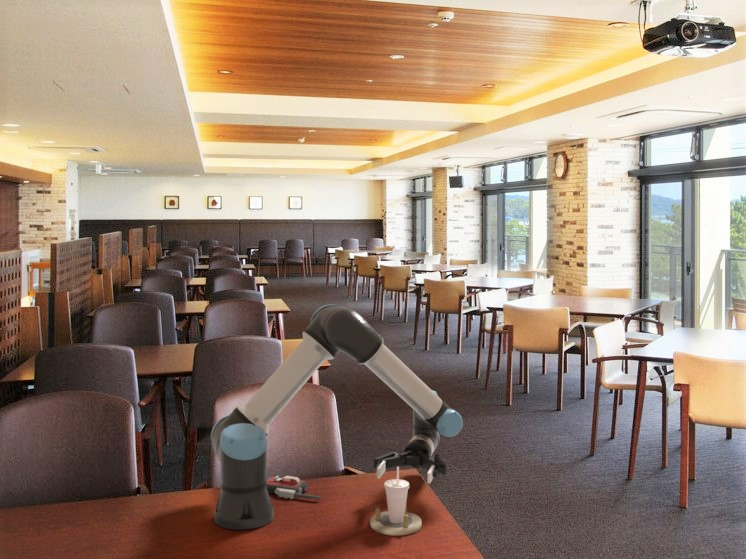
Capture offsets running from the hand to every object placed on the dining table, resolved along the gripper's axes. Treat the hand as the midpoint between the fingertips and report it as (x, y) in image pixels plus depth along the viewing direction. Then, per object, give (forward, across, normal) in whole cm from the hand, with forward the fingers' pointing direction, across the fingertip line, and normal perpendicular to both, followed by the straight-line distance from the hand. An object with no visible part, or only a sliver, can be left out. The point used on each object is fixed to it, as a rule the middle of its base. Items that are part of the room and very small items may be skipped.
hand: (403, 475), depth 187 cm
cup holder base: (+7, 0, -10) cm, 12 cm away
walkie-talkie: (-6, +34, -11) cm, 36 cm away
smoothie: (+7, 0, -9) cm, 12 cm away
